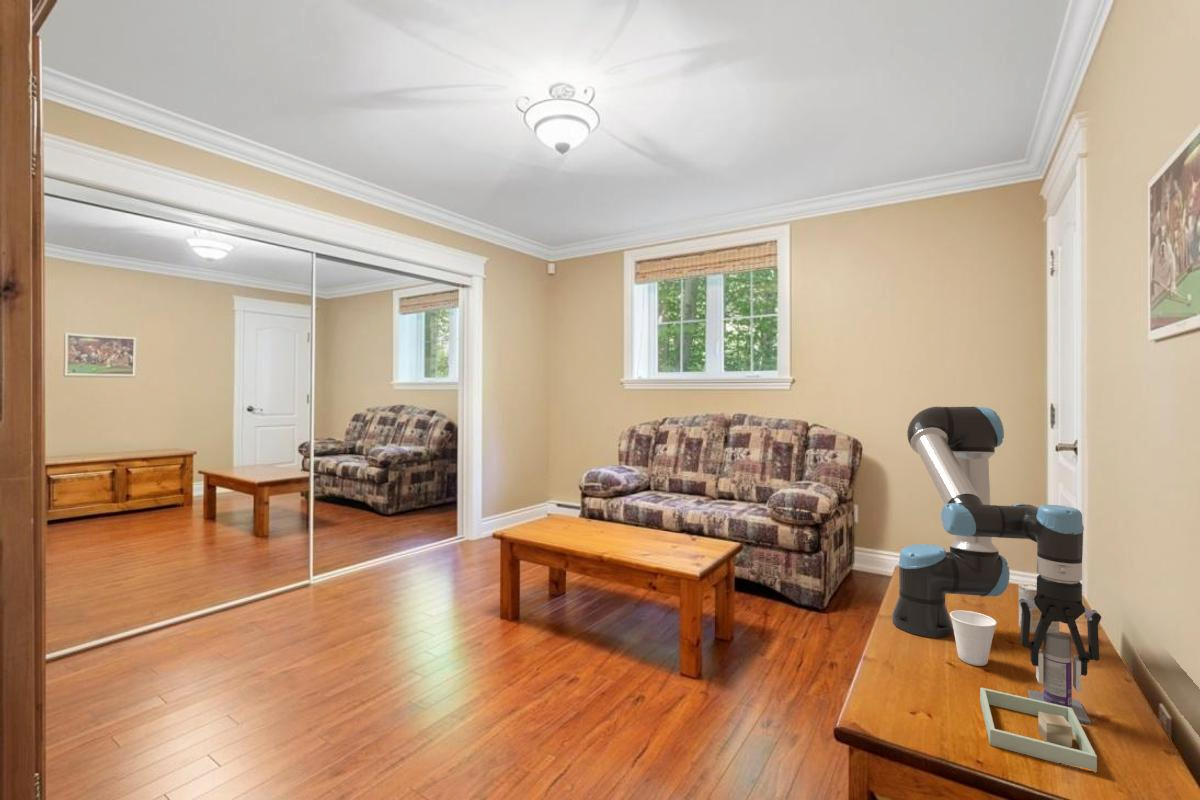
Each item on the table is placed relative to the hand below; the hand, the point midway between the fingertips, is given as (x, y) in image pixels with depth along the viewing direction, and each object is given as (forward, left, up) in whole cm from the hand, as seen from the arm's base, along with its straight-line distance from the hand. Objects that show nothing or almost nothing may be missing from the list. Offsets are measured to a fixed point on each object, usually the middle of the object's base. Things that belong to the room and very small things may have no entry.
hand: (1057, 684), depth 117 cm
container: (0, 0, -5) cm, 5 cm away
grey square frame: (-6, -14, -5) cm, 16 cm away
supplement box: (+4, +46, -5) cm, 46 cm away
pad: (0, 0, -5) cm, 5 cm away
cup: (-14, +16, -5) cm, 22 cm away
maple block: (-3, -14, -5) cm, 15 cm away
